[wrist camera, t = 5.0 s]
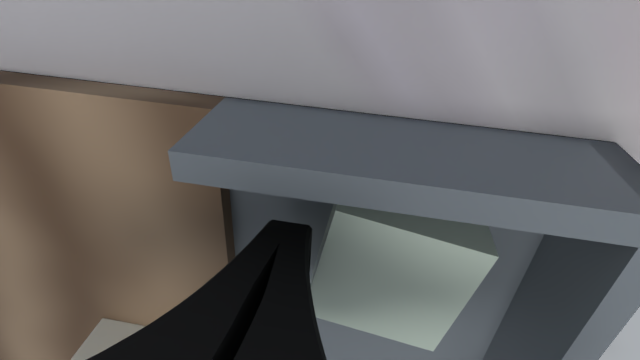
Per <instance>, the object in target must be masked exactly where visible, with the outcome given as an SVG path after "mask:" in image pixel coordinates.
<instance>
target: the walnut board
mask: <svg viewBox="0 0 640 360" xmlns="http://www.w3.org/2000/svg"><path fill="white" fill-rule="evenodd" d="M224 98H225V97H221V96H212V95H204V94H195V93H187V92H178V91H170V90H161V89H152V88H144V87H135V86H127V85H118V84H110V83H101V82H93V81H84V80H76V79H67V78H58V77H50V76H41V75H33V74H24V73H16V72H7V71H0V360H71V358H72V357H73V356H74V354H75V353H76V352H77V350H78V349H79V348H80V347H81V345H82V344H83V343H84V341H85V340H86V339H87V338H88V336H89V335H90V334H91V332H92V331H93V330H94V328H95V327H96V326H97V325H98V323H99V322H100V321H101V319H102V318H104V319H110V320H115V321H120V322H126V323H131V324H136V325H142V326H147V325H148V324H150V323H152V322H153V321H155V320H156V319H158V318H159V317H161V316H162V315H164V314H165V313H167V312H168V311H169V310H171V309H172V308H174V307H175V306H177V305H178V304H180V303H181V302H182V301H184V300H185V299H186V298H188V297H189V296H190V295H192V294H193V293H194V292H195V291H197V290H198V289H199V288H200V287H202V286H203V285H204V284H205V283H207V282H208V281H209V280H210V279H211V278H212V277H213V276H215V275H216V274H217V273H218V272H219V271H220V270H221V269H223V268H224V267H225V266H226V265H227V264H228V263H229V262H230V261H231V260H232V259H233V258H234V257H235V247H234V236H233V224H232V213H231V201H230V190H229V189H226V188H219V187H212V186H205V185H199V184H192V183H185V182H178V181H173V177H172V172H171V166H170V161H169V155H168V150H169V149H170V148H171V147H172V146H174V145H175V144H176V143H177V142H178V141H179V140H180V139H181V138H182V137H183V136H184V135H185V134H186V133H187V132H189V131H190V130H191V129H192V128H193V127H194V126H195V125H196V124H197V123H198V122H199V121H200V120H201V119H202V118H204V117H205V116H206V115H207V114H208V113H209V112H210V111H211V110H212V109H213V108H214V107H215V106H216V105H218V104H219V103H220V102H221V101H222V100H223V99H224Z"/></svg>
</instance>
